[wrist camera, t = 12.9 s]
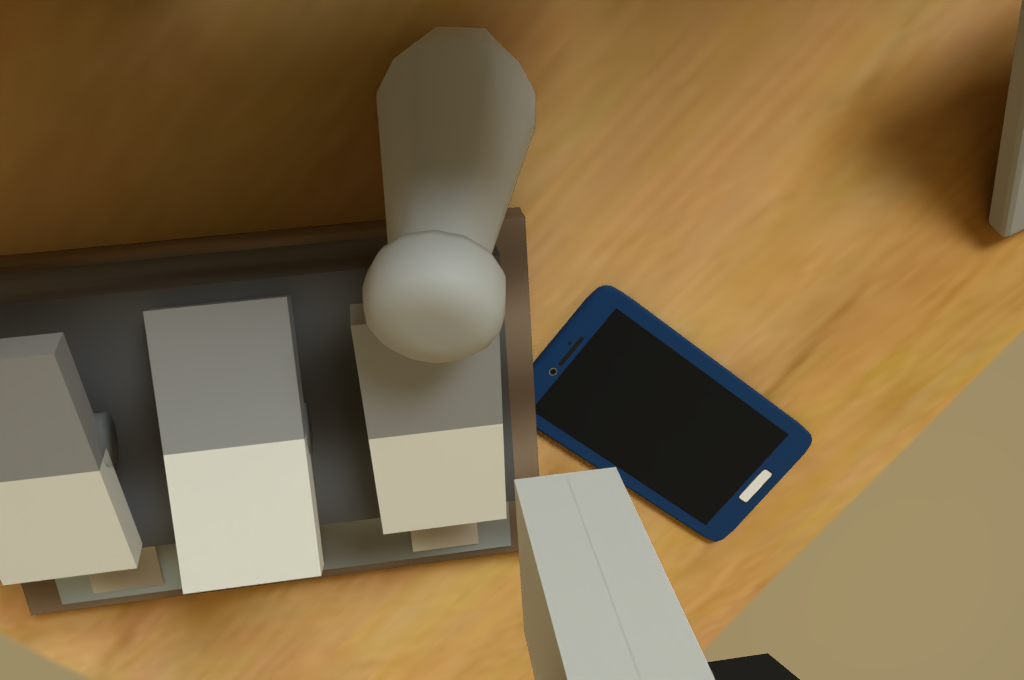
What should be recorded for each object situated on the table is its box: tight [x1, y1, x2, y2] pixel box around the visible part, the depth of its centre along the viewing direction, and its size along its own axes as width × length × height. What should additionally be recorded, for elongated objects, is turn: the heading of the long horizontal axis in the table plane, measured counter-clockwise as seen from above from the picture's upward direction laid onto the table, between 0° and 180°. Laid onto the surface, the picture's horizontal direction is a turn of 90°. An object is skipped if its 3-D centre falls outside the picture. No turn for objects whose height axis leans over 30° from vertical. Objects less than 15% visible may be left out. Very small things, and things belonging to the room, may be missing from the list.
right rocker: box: [350, 303, 507, 534], centre depth 35 cm, size 10×5×3 cm, turn 4°
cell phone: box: [533, 285, 812, 542], centre depth 44 cm, size 7×14×1 cm, turn 51°
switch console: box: [0, 207, 539, 615], centre depth 39 cm, size 16×23×5 cm
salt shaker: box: [362, 26, 536, 364], centre depth 32 cm, size 6×6×13 cm
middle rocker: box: [143, 295, 324, 594], centre depth 34 cm, size 10×5×3 cm, turn 2°
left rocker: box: [0, 332, 142, 585], centre depth 33 cm, size 10×5×3 cm, turn 4°
